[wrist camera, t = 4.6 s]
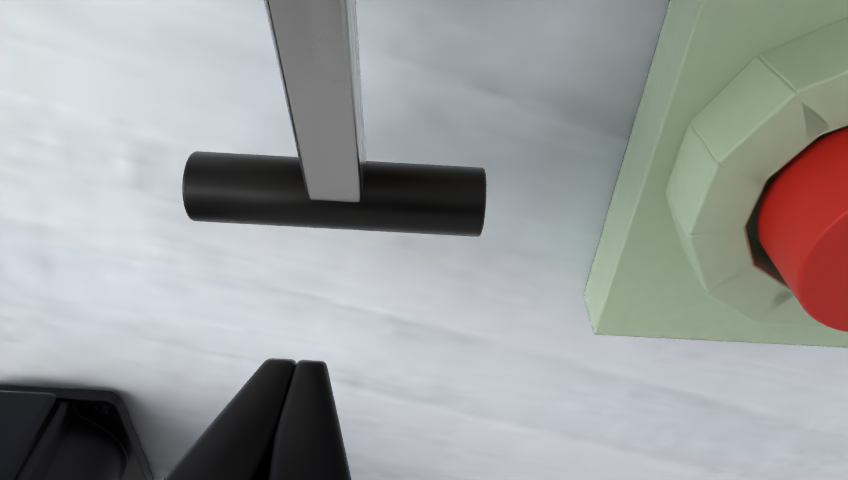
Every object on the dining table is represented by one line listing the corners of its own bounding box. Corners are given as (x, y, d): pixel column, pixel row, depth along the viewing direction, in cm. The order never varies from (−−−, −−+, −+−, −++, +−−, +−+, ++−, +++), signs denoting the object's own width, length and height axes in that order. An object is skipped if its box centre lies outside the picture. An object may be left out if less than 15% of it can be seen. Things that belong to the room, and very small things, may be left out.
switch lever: (478, 175, 14) (478, 268, 13) (214, 160, 14) (191, 253, 13) (662, -718, 4) (731, -670, 3) (-183, -788, 4) (-426, -764, 3)
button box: (834, 308, 19) (899, 399, 17) (582, 295, 19) (606, 384, 17) (1119, -132, 12) (1321, -99, 9) (714, -160, 12) (798, -135, 9)
